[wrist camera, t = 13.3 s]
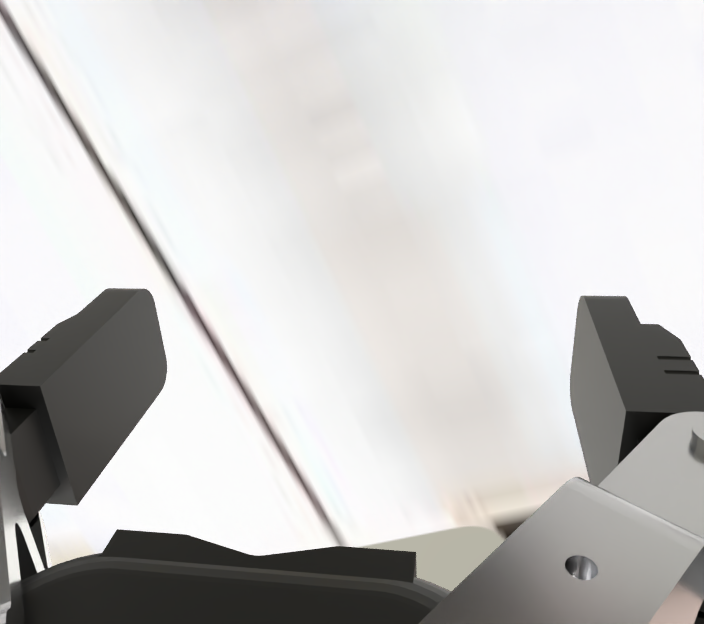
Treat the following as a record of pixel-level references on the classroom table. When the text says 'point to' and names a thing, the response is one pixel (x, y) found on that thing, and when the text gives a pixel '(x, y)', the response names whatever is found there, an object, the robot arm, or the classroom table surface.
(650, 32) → the classroom table surface
